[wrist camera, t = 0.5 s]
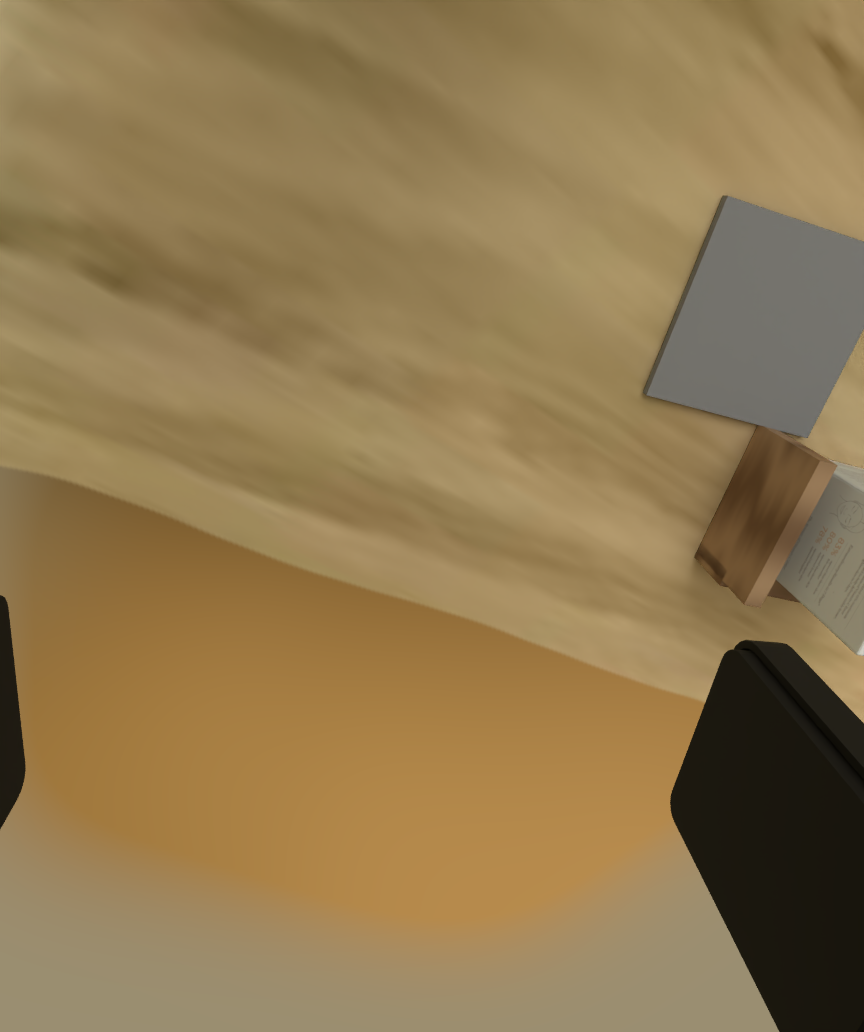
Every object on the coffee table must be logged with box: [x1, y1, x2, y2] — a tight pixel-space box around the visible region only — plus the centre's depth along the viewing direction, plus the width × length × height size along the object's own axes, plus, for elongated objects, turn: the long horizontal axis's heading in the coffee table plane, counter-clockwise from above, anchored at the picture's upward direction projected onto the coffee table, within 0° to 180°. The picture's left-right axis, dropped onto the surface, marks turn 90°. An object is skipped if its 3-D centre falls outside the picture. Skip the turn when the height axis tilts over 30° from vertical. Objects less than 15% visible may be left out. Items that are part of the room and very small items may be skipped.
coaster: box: [643, 196, 864, 438], centre depth 44 cm, size 12×12×1 cm
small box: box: [776, 459, 864, 656], centre depth 45 cm, size 8×6×13 cm
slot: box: [695, 425, 838, 608], centre depth 47 cm, size 10×13×7 cm
